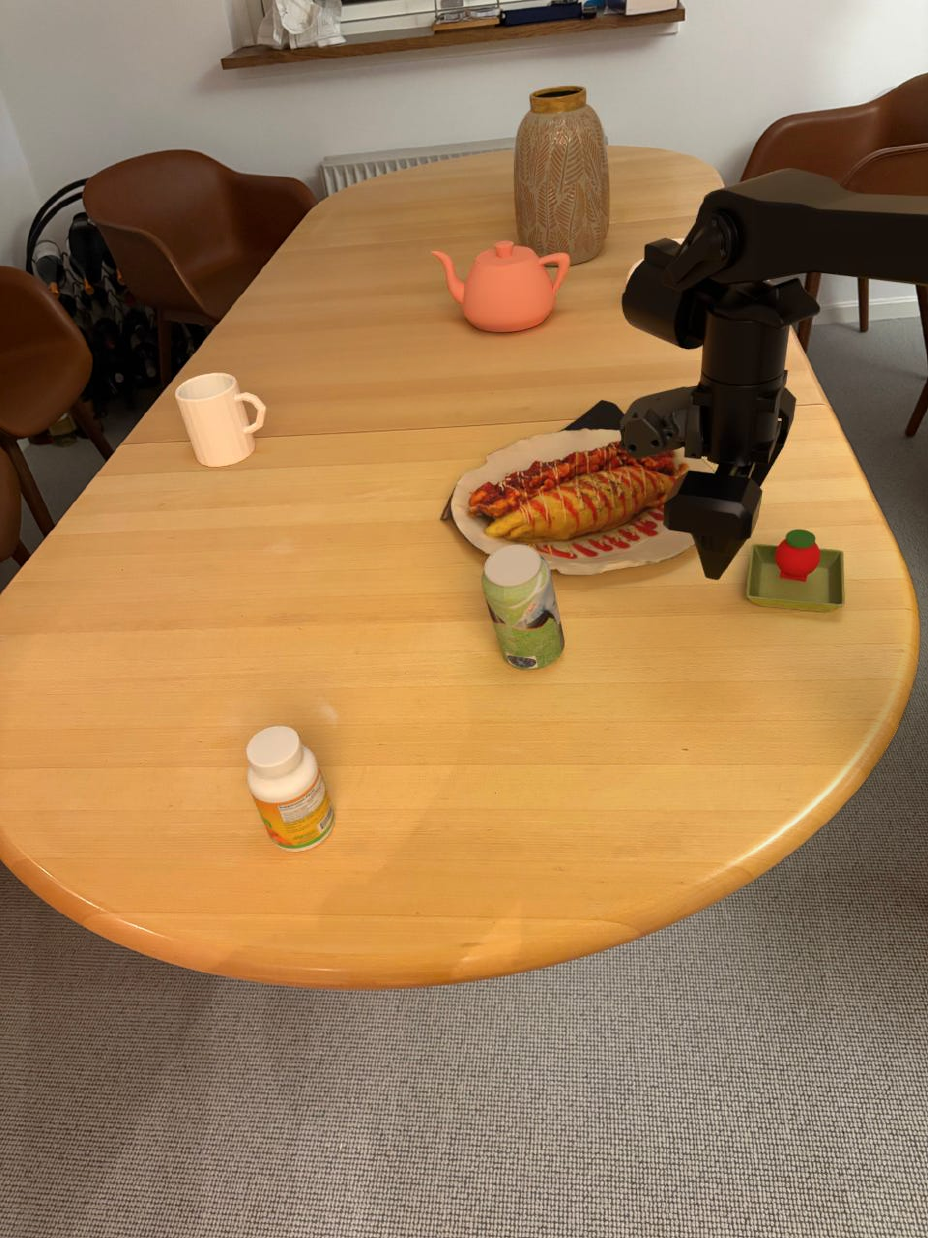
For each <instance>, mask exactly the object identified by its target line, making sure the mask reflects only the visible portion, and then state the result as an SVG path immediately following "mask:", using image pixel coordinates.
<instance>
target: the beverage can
mask: <svg viewBox="0 0 928 1238" xmlns="http://www.w3.org/2000/svg"><path fill="white" fill-rule="evenodd" d="M551 573H552V572H551V570H550V568H549V566H548V564H547V562H546V561H545V559H544V558H543V557H541V556H540V555H539V553H538V552H537V551H536V550H535V549H533V548H531V547H529V546H526V545H510V546H506V547H503V548H501V549H498V550H497V551H495V552H494V553H493V554H491V555H490V554H489V557H488V558H487V559H486V561H485V563H484V569H483V571H482V574H481V578H480V579H481V580H480V584H481V589H482V591H483V595H484V598H485V602H486V605H487V608H488V612H489V616H490V619H491V622H492V626H493V629H494V633H495V635H496V639H497V643H498V646H499V649H500V652H501V656H502V658H503V659H504V661H505V662H506V663H507V664H508V665H510V666H511V667H513V668H515V669H518V670H521V671H535V670H540V669H543V668H546V667H548V666H550V665H551V664H553V663H554V662H556V661H557V659H559V657H560V656H561V655H562V653H563V651H564V648H565V645H566V644H565V635H564V631H563V626H562V621H561V615H560V612H559V607H558V602H557V598H556V593H555V587H554V583H553V578H552V574H551Z"/></svg>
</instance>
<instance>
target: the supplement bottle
mask: <svg viewBox="0 0 928 1238" xmlns="http://www.w3.org/2000/svg"><path fill="white" fill-rule="evenodd" d="M245 751H246V753H245V754H246V758H247V760H248V763H249V766H248V769H247V771H246V782H247V786H248V790H249V792H250V794H251V796H252V799H253V801H254V804H255V806H256V809H257V811H258V813H259V815H260V817H261V820H262V822H263V825H264V827H265V829H266V832H267V834H268V836H269V838H270V840H271V842H272V843H273V844H274V845H275V846H276V847H277V848H279V849H280V850H283V851H286V852H292V853H300V852H304V851H309V850H310V849H314V848H315V847H317V846H319V845H320V844H321V843H322V842H324V841H325V840H326V838H327V837H328V836H330V834H331V831H332V830H333V828H334V825H335V819H336V815H335V810H334V807H333V803H332V801H331V797H330V795H329V792H328V789H327V786H326V783H325V780H324V778H323V775H322V772H321V768H320V766H319V763H318V760H317V758H316V756H315V754H314V752H313V751H312V750H311V749H310V748H309V747H308V746H306V745H304V744H303V743H302V741H301V738H300V737H299V734H298V733H297V731H296V730H295V729H294V728H291V727H289V726H286V725H273V726H269V727H266V728H263V729H262V730H260V731H258V732H257V733H256V734H255V735H254V736H252V738H250V740H249V741H248V744H247V745H246V750H245Z"/></svg>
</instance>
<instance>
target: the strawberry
mask: <svg viewBox="0 0 928 1238" xmlns="http://www.w3.org/2000/svg"><path fill="white" fill-rule="evenodd" d="M777 546H778V547H777V550H776V553H775V560H776V564H777V566H778V568H779V569H780V570H781V572H780V578H785V579H790V580H796V581H802V582H806V580H807V576H808V574H810V573H811V572H813V571H814V570H815V569H816V567H817V566H818V564H819V561H820V550H819V549H820V547H819V546H818V544H817V543H816V536H815V534H814V533H813V532H811V531H810V530H806V529H800V528H797V529H792V530H790V531H788V532H787V533H786V535H785V538H784V539H783V540H782V541H780V543H779V544H778V545H777Z"/></svg>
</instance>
